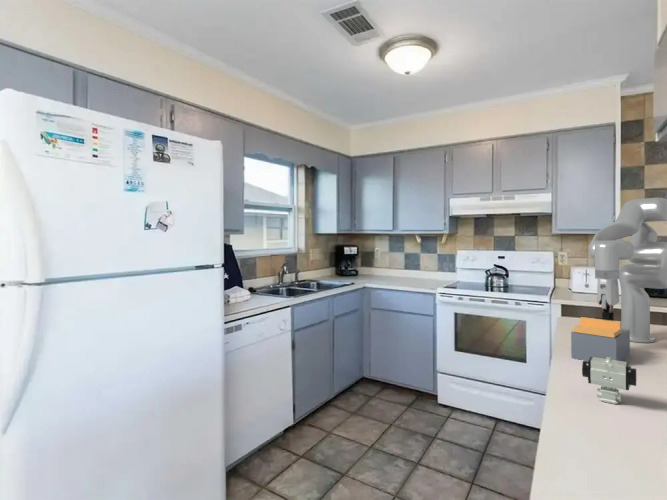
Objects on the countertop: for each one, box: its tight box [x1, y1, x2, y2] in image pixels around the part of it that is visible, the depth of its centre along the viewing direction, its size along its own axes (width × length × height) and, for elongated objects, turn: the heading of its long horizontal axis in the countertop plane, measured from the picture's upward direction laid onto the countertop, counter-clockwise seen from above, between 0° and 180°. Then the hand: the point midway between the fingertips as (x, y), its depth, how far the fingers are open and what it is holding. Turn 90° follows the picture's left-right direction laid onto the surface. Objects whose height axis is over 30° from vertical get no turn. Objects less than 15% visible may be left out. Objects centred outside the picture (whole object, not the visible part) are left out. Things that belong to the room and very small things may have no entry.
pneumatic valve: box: [581, 357, 638, 405], centre depth 104 cm, size 6×12×12 cm, turn 50°
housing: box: [570, 329, 631, 362], centre depth 141 cm, size 18×14×10 cm
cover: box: [572, 316, 621, 338], centre depth 138 cm, size 9×12×4 cm
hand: (608, 322), depth 147 cm, fingers closed
